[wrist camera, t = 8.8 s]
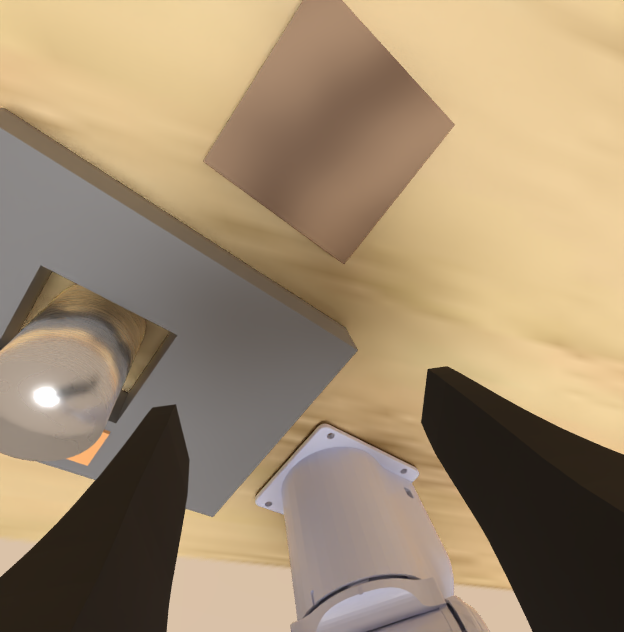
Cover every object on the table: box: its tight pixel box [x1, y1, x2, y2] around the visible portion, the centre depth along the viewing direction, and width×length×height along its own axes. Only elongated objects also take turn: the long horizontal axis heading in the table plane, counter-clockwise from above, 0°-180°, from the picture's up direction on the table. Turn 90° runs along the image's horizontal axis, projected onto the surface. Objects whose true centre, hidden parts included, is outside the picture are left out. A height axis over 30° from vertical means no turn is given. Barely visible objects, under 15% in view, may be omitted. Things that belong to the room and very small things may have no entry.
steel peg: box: [0, 284, 146, 461], centre depth 16 cm, size 4×4×7 cm
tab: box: [203, 0, 455, 264], centre depth 17 cm, size 8×8×1 cm
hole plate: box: [0, 108, 358, 517], centre depth 19 cm, size 18×14×3 cm
